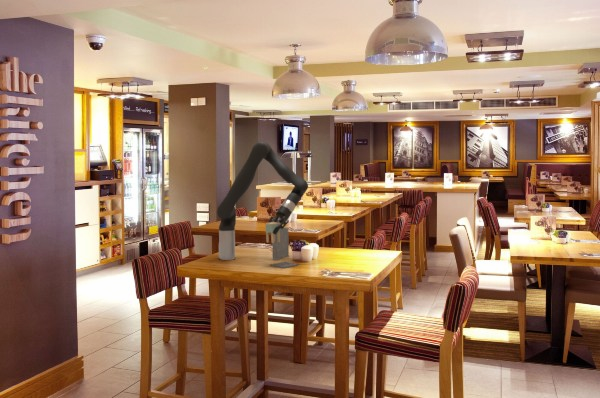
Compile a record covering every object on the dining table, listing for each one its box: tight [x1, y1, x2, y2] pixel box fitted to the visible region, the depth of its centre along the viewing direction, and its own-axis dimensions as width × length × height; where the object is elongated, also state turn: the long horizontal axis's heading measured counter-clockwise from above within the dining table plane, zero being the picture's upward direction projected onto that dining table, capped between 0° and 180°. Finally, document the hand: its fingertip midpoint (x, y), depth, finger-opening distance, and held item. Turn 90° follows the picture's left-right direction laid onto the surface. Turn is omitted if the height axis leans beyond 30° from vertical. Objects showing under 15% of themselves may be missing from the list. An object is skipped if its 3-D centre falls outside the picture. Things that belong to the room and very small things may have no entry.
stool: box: [265, 222, 280, 244], centre depth 342 cm, size 6×6×11 cm
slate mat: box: [269, 261, 299, 269], centre depth 344 cm, size 11×11×1 cm
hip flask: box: [271, 226, 290, 261], centre depth 368 cm, size 16×4×20 cm, turn 152°
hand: (270, 233), depth 340 cm, fingers closed on stool, 5 cm apart
